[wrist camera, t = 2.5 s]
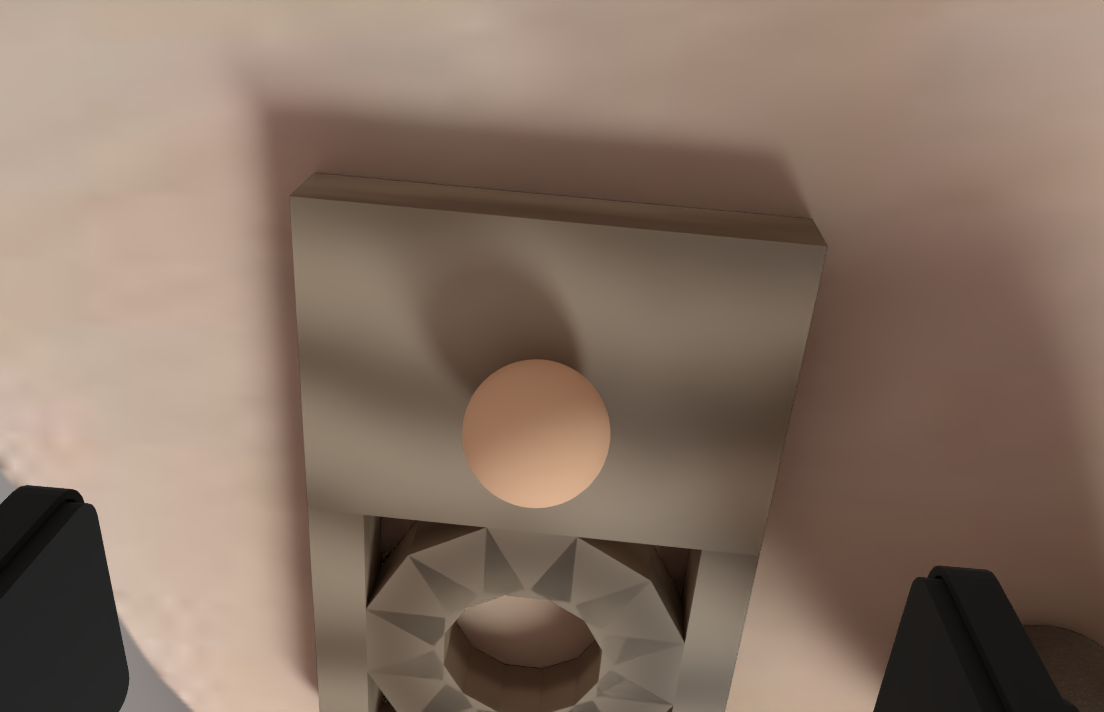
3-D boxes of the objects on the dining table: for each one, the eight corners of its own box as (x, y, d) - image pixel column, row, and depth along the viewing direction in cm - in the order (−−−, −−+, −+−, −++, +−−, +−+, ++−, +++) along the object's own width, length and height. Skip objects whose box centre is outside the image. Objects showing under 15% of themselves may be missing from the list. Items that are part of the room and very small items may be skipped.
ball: (476, 327, 29) (452, 398, 25) (618, 341, 29) (617, 414, 25) (471, 448, 31) (448, 530, 27) (604, 461, 31) (601, 546, 27)
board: (314, 173, 30) (289, 196, 28) (812, 219, 30) (827, 246, 27) (338, 713, 41) (322, 761, 39) (700, 753, 41) (704, 804, 38)
